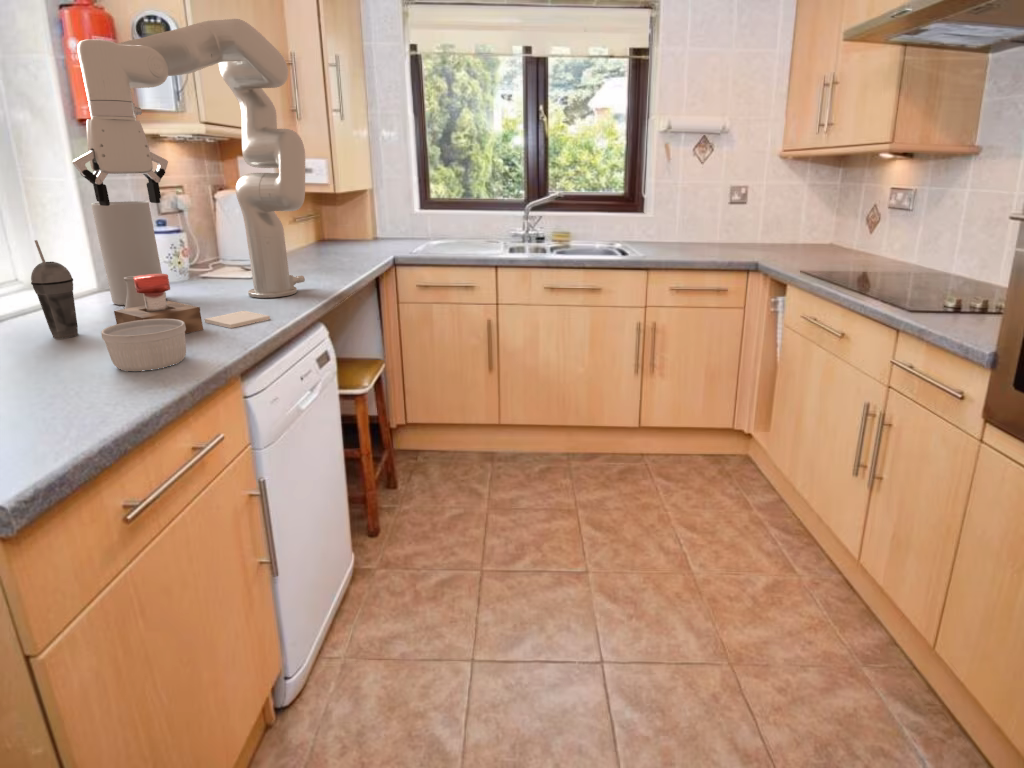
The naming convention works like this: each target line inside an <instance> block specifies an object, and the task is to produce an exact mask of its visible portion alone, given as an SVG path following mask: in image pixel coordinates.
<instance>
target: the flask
mask: <svg viewBox="0 0 1024 768" xmlns="http://www.w3.org/2000/svg"><path fill="white" fill-rule="evenodd" d="M133 277H135V276H131V277H124V280H125V281H126V285H127V298H126V304H125V305H124V309H127V308H133V307H138V306H144V305H145V300H144V295H143V293H137V292H136V289H135V284H134V279H133Z"/></svg>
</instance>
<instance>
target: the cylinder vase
mask: <svg viewBox="0 0 1024 768" xmlns="http://www.w3.org/2000/svg"><path fill="white" fill-rule="evenodd" d="M109 202H110V205H109V206H102V205H100V204H99V202H93V203H91V210H92V215H93V220H94V223H95V228H96V232H97V234H96V235H97V238H98V243H99V246H100V252H101V257H102V260H103V265H104V270H105V274H106V278H107V279H106V280H107V283H108V284H107V285H108V287H109V294H110V296H111V297H110V298H111V301H112V303H114V304H115V305H117V306H125V304H126V298H127V285H126V281H125V280H124V277H131V276H139V275H146V274H163V272H162V267H161V265H162V264H161V261H160V255H159V250H158V245H157V239H156V236H155V229H154V224H153V220H152V215H151V208H150V204H149V203H150V201H147V200H146V201H144V200H142V201H139V200H137V201H134V200H133V201H131V200H129V201H125V200H124V201H109ZM164 292H165V297H166V298H167V293H166V292H167V291H164Z"/></svg>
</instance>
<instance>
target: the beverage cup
mask: <svg viewBox="0 0 1024 768" xmlns="http://www.w3.org/2000/svg"><path fill="white" fill-rule="evenodd" d="M34 243H35V247H36V248H37V251H38V254H39V256H40V259H41V261H42V262H40V263H38V264H37V265H36V266H35V267H34V268H33V269H32V272H31V276H30V282H31V283H30V285H31V286H32V288H33V290H34V292H35V294H36V295H37V298H38V301H39V304H40V306H41V309H42V312H43V315H44V318H45V320H46V323H47V326H48V329H49V331H50V333H51V336H52V338H54V339H67V338H68V339H70V338H73V337H77V336H79V329H78V319H77V313H76V305H75V299H74V298H75V297H74V278H73V276H72V274H71V272H70V271H69V269H68V268H67V267H66V266H65V265H63V264H61V263H59V262H56V261H46V259H45V257H44V255H43V252H42V250H41V249H42V248H41V247H40V245H39V242H38V240H37V239H35V240H34Z"/></svg>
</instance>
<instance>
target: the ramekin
mask: <svg viewBox="0 0 1024 768" xmlns="http://www.w3.org/2000/svg"><path fill="white" fill-rule="evenodd" d="M185 331H186V326H185V323H184V322H183V321H181V320H177V319H147V320H137V321H131V322H125V323H120V324H117V323H116V324H113V325H110V326H107V327H106V328H104V329H103V328H102V330H101V332H100V334H101V339H102V341H104V343H105V346H106V349H107V352H108V354H109V357H110V359H111V361H112V364H113V365H114V367H115V368H118V369H119V370H120V369H121V370H120V371H123V370H126V371H125V372H128V371H141V372H143V371H142V370H151V369H158V368H163V367H167V366H170V365H173V364H176V363H178V364H180V363H181V362H182V361H183V360H184V358H185V357H186V353H187V345H186V343H187V342H186V334H185ZM180 361H181V362H180ZM179 362H180V363H179ZM176 365H177V364H176ZM167 368H168V367H167ZM163 369H164V368H163ZM158 370H159V369H158Z"/></svg>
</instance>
